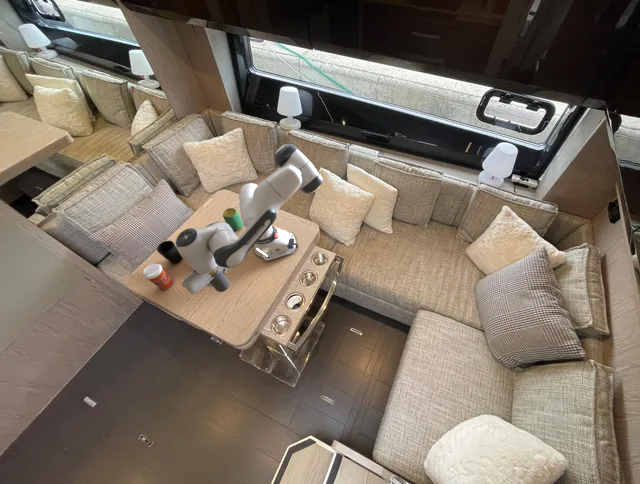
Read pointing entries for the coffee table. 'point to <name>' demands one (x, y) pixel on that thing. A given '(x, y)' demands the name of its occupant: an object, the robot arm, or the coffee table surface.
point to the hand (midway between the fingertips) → (217, 279)
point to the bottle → (219, 281)
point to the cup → (169, 252)
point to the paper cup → (157, 276)
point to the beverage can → (232, 219)
